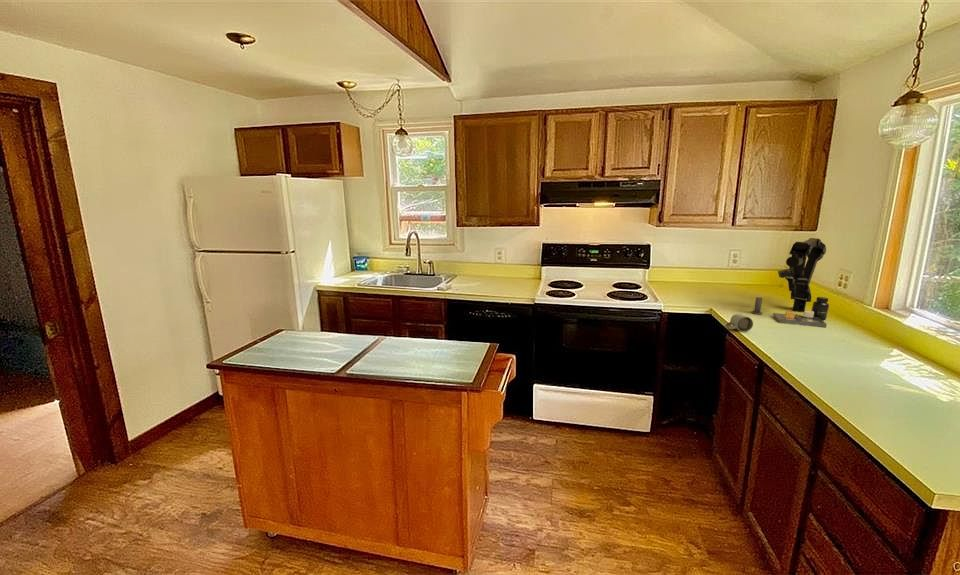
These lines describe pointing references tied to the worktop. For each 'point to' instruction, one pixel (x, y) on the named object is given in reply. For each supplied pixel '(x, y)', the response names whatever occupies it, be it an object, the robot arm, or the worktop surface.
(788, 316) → the amber toggle
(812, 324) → the breaker panel
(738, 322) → the ceramic mug
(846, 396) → the worktop surface
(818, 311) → the supplement bottle
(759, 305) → the post
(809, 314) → the ivory toggle
